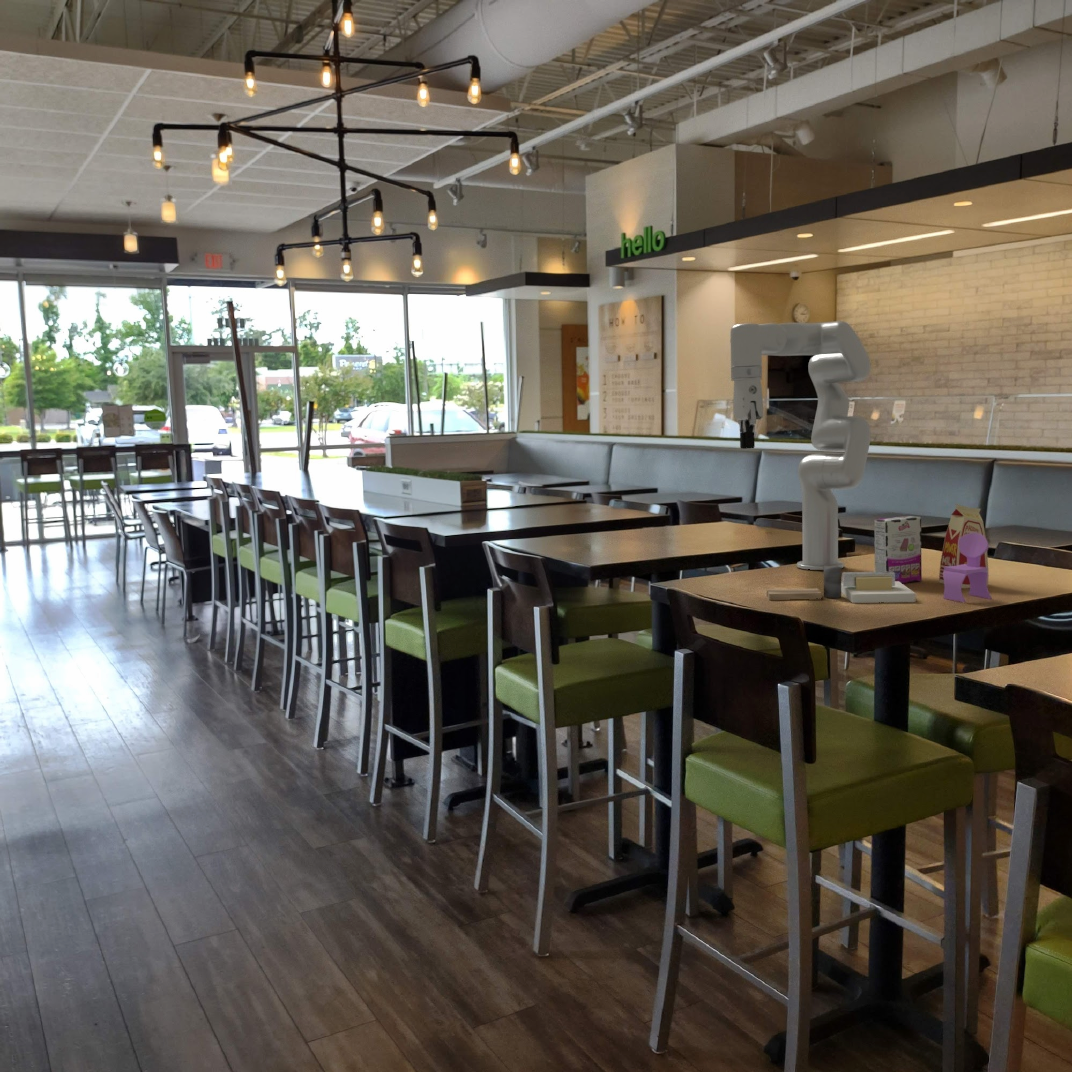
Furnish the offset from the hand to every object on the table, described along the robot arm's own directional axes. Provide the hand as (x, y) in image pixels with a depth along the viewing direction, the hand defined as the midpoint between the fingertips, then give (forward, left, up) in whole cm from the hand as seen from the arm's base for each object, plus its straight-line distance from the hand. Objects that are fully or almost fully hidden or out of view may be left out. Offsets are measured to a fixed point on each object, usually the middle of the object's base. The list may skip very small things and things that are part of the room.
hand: (747, 448), depth 253 cm
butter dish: (+16, +28, -35) cm, 48 cm away
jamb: (+16, +12, -35) cm, 40 cm away
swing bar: (+16, +26, -33) cm, 45 cm away
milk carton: (+2, +52, -35) cm, 63 cm away
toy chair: (+21, +47, -35) cm, 62 cm away
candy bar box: (-2, +37, -35) cm, 51 cm away
